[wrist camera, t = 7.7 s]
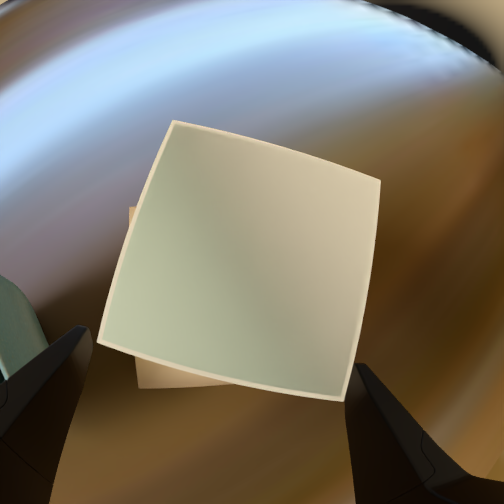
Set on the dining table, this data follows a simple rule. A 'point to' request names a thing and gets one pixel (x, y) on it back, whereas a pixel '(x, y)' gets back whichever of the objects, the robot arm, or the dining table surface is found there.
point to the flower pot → (17, 330)
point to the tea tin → (246, 264)
